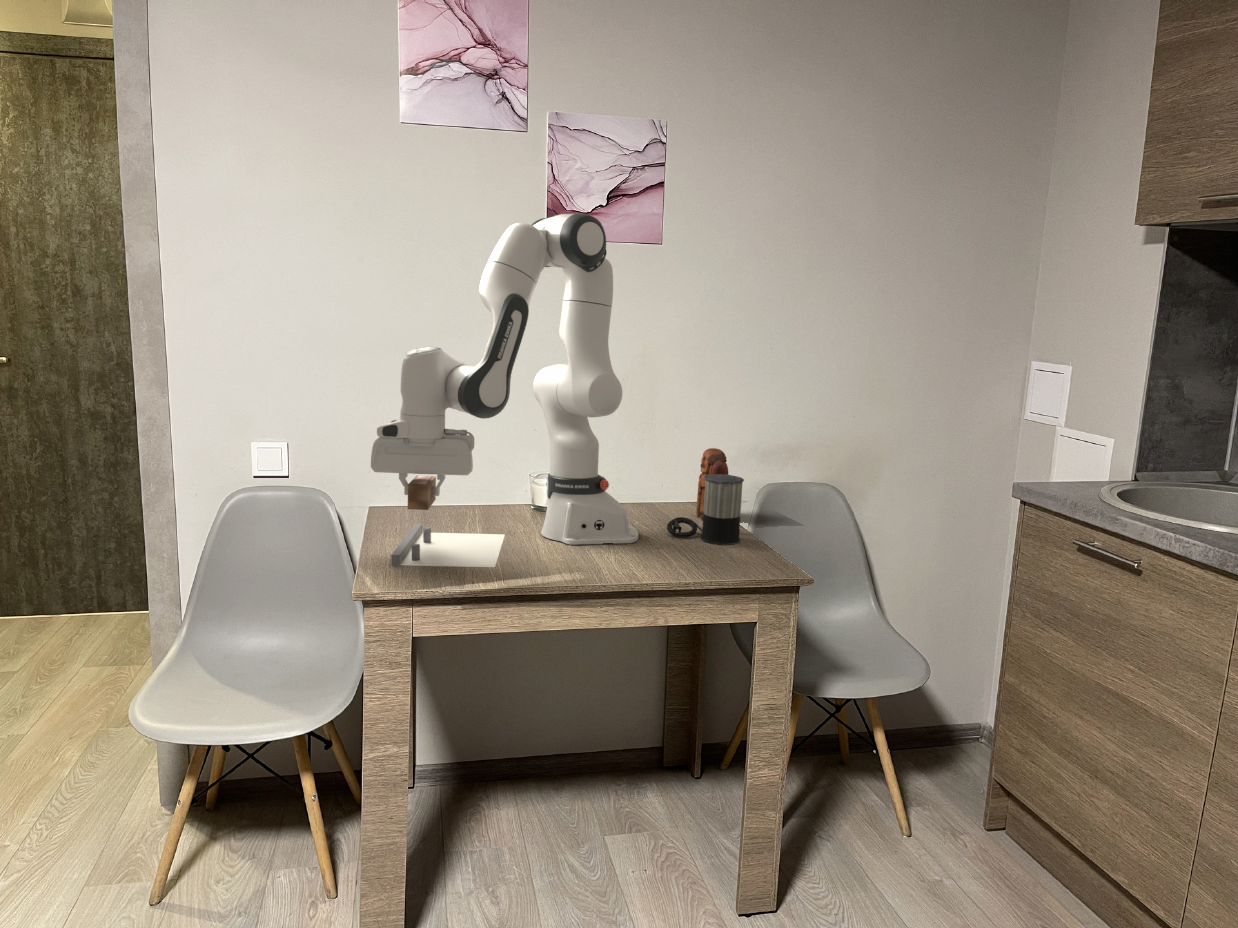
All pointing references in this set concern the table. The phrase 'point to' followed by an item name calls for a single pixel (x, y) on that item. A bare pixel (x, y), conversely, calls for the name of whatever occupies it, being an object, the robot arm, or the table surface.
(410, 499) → the wooden block
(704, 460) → the wooden figurine
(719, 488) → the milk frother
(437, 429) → the robot arm
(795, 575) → the table surface
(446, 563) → the board
